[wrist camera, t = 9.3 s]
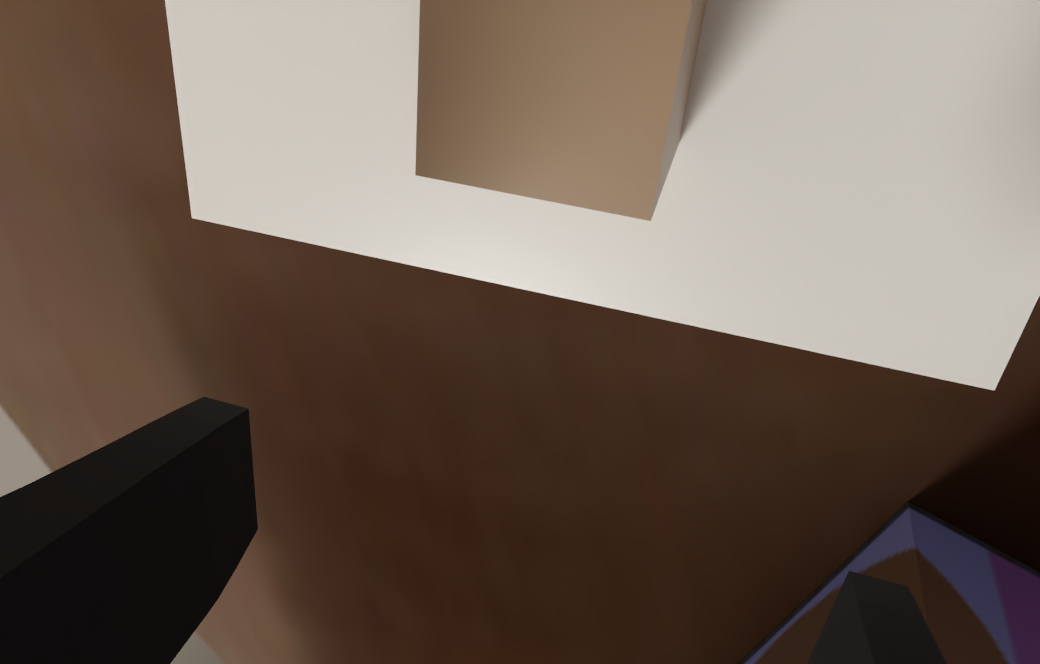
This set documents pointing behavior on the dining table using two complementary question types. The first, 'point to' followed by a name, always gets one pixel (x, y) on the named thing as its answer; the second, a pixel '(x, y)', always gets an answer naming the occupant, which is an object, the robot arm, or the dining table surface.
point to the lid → (648, 156)
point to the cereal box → (930, 594)
